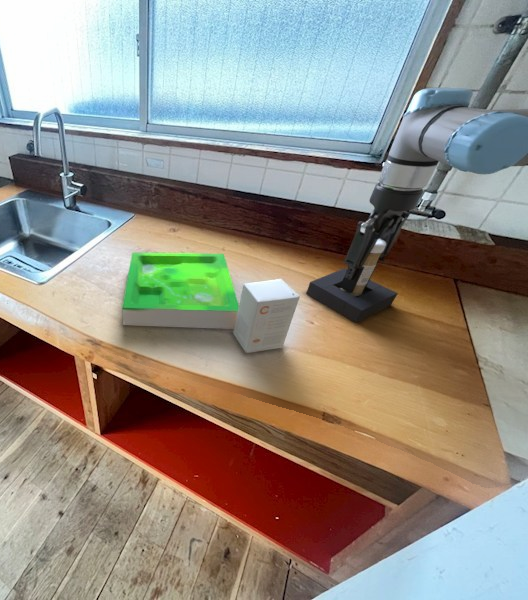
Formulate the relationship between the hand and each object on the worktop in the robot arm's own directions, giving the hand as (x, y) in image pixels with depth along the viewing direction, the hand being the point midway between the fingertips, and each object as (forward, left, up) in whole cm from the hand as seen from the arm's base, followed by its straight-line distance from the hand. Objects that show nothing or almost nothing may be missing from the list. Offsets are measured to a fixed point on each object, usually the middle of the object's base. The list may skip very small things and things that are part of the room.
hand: (353, 286), depth 75 cm
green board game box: (+22, +34, -4) cm, 41 cm away
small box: (0, +29, -4) cm, 29 cm away
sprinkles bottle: (0, 0, -2) cm, 2 cm away
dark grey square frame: (0, 0, -4) cm, 4 cm away
